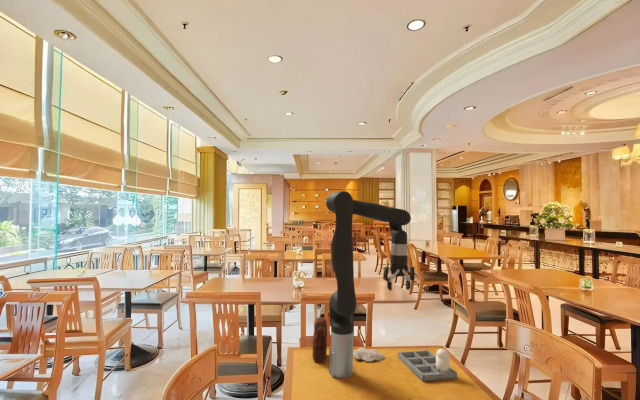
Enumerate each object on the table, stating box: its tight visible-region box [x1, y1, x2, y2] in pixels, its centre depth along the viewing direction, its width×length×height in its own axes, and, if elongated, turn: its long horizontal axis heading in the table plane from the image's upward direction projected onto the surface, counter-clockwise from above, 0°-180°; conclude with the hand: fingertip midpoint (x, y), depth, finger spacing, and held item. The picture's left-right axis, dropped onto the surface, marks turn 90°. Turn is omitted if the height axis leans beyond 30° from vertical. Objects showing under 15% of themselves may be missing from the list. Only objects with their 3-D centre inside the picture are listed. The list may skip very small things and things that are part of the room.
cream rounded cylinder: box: [435, 348, 450, 373], centre depth 139 cm, size 5×5×10 cm
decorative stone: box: [353, 346, 386, 363], centre depth 154 cm, size 11×4×15 cm
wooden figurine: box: [312, 316, 328, 364], centre depth 153 cm, size 12×6×18 cm, turn 3°
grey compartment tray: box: [397, 349, 458, 383], centre depth 145 cm, size 15×22×3 cm, turn 12°
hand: (398, 289), depth 151 cm, fingers open, 8 cm apart
